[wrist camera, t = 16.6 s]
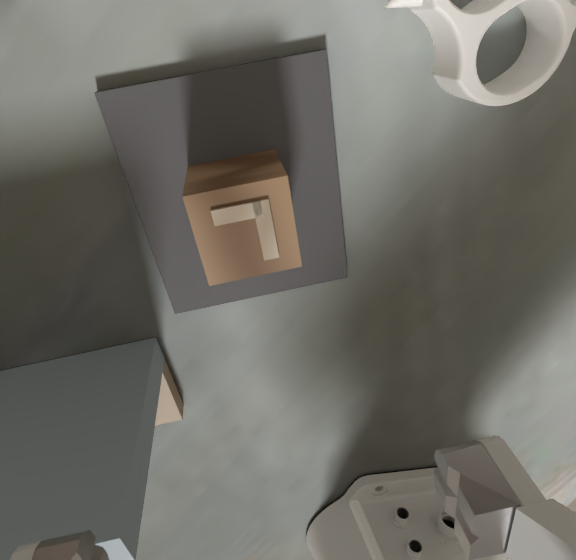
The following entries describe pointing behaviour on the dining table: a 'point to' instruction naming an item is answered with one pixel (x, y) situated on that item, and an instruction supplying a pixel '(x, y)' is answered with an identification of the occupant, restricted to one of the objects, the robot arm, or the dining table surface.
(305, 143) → the mat
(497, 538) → the robot arm
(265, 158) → the walnut cube
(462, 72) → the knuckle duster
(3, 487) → the pale blue flat slab
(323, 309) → the dining table surface
